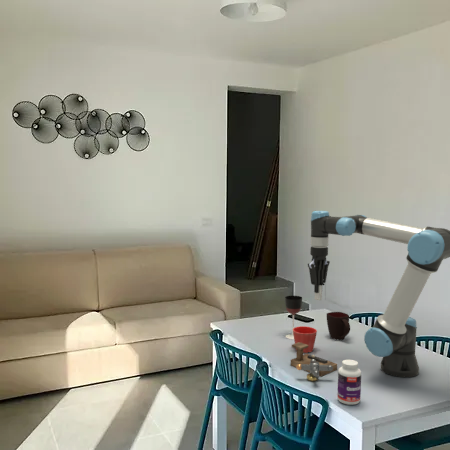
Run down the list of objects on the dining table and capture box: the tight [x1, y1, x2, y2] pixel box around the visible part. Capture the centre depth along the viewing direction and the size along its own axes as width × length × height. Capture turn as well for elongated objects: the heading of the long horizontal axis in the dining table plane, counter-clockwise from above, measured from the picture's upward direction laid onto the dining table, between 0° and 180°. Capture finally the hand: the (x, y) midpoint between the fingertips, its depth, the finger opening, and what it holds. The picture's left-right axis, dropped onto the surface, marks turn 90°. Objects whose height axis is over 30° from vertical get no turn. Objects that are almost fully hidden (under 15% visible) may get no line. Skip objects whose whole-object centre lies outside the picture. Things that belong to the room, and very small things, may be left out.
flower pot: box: [293, 325, 318, 354], centre depth 235 cm, size 11×11×10 cm
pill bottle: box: [336, 359, 362, 406], centre depth 182 cm, size 8×8×14 cm
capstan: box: [295, 359, 333, 382], centre depth 201 cm, size 14×14×6 cm
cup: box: [326, 311, 351, 341], centre depth 250 cm, size 10×14×12 cm
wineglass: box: [284, 295, 303, 340], centre depth 253 cm, size 8×9×20 cm
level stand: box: [290, 342, 338, 377], centre depth 214 cm, size 16×11×9 cm
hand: (318, 299), depth 222 cm, fingers closed
